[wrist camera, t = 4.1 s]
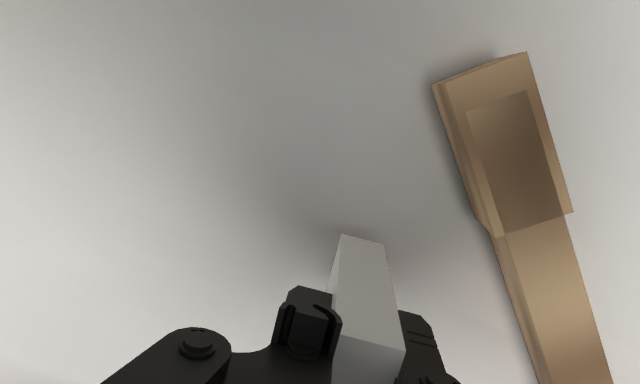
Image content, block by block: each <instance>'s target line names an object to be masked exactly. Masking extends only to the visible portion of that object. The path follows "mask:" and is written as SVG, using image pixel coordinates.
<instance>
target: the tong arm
mask: <svg viewBox="0 0 640 384" xmlns="http://www.w3.org/2000/svg"><path fill="white" fill-rule="evenodd" d="M431 87H432V90H433V93H434V96H435V99H436V102H437V105H438V108H439V111H440V114H441V117H442V120H443V123H444V126H445V129H446V132H447V135H448V138H449V141H450V144H451V147H452V150H453V153H454V156H455V159H456V162H457V165H458V168H459V171H460V174H461V177H462V180H463V183H464V186H465V189H466V192H467V195H468V198H469V201H470V204H471V207H472V210H473V213H474V216H475V218H476V219H477V220H478V221H479V222H480V223H481V224H482V225H483V226H484V227H485V228H486V229H487V230H488V231H489V234H490V237H491V240H492V243H493V246H494V249H495V252H496V255H497V258H498V261H499V264H500V267H501V270H502V273H503V276H504V279H505V282H506V285H507V288H508V291H509V294H510V297H511V300H512V303H513V306H514V309H515V312H516V315H517V318H518V321H519V324H520V327H521V331H522V334H523V337H524V340H525V343H526V346H527V349H528V352H529V355H530V358H531V361H532V364H533V367H534V370H535V373H536V376H537V379H538V382H539V384H613V380H612V377H611V374H610V370H609V367H608V364H607V360H606V357H605V353H604V350H603V347H602V343H601V340H600V336H599V333H598V330H597V326H596V323H595V320H594V316H593V313H592V309H591V306H590V303H589V299H588V296H587V293H586V289H585V286H584V282H583V279H582V276H581V272H580V269H579V265H578V262H577V259H576V255H575V252H574V249H573V245H572V242H571V238H570V235H569V232H568V228H567V225H566V222H565V218H564V215H566V214H569V213H572V212H574V211H573V208H572V205H571V201H570V198H569V194H568V191H567V187H566V184H565V181H564V177H563V174H562V170H561V167H560V163H559V160H558V157H557V153H556V150H555V146H554V143H553V139H552V136H551V132H550V129H549V126H548V122H547V119H546V115H545V112H544V108H543V105H542V102H541V98H540V95H539V91H538V88H537V84H536V81H535V78H534V74H533V71H532V67H531V64H530V60H529V57H528V53H527V51H526V52H522V53H518V54H514V55H509V56H505V57H501V58H498V59H495V60H493V61H490V62H487V63H485V64H482V65H480V66H477V67H475V68H472V69H470V70H467V71H464V72H462V73H459V74H457V75H454V76H452V77H449V78H446V79H444V80H441V81H439V82H436V83H434V84H431Z"/></svg>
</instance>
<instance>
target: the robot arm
mask: <svg viewBox="0 0 640 384" xmlns="http://www.w3.org/2000/svg"><path fill="white" fill-rule="evenodd" d="M100 384H461V383H460V382H459V381H457V380H456V379H455V378H454V377H452V376H451V375H449V374H447V373H446V371H445V368H444V365H443V362H442V359H441V356H440V353H439V350H438V349H437V344H436V341H435V340H434V335H433V332H432V329H431V327H430V325H429V324H428V323H427V322H426V321H425V320H424V319H423V318H422V317H421V316H420V315H416V314H412V313H409V312H405V311H401V310H397V305H396V300H395V295H394V291H393V286H392V281H391V276H390V271H389V267H388V262H387V257H386V252H385V247H384V244H381V243H377V242H373V241H369V240H365V239H362V238H358V237H354V236H350V235H346V234H341V238H340V241H339V245H338V249H337V253H336V256H335V260H334V264H333V267H332V271H331V275H330V278H329V282H328V286H327V290H326V292H322V291H318V290H314V289H311V288H307V287H303V286H299V285H298V286H297V287H295V288H293V289H292V290H290V291H289V292H288V296H287V299H286V302H283V304H282V305H281V306H280V307H279V311H278V315H277V319H276V323H275V327H274V331H273V335H272V339H271V343H270V345H269V346H267V347H266V348H264V349H262V350H260V351H255V352H250V353H235V352H232V351H231V344H230V343H229V342H228V341H227V339H226V338H225V337H224V336H222V335H220V334H219V333H217V332H215V331H212V330H208V329H205V328H200V327H199V328H198V327H189V328H183V329H177V330H175V331H173V332H171V333H169V334H167V335H166V336H165V337H163V338H162V339H161V340H159V341H158V342H156V343H155V344H154V345H152V346H151V347H150V348H148V349H147V350H146V351H144V352H143V353H141V354H140V355H139V356H137V357H136V358H135V359H133V360H132V361H131V362H129V363H128V364H126V365H125V366H124V367H122V368H121V369H120V370H118V371H117V372H115V373H114V374H113V375H111V376H110V377H109V378H107V379H106V380H105V381H103V382H102V383H100Z"/></svg>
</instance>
